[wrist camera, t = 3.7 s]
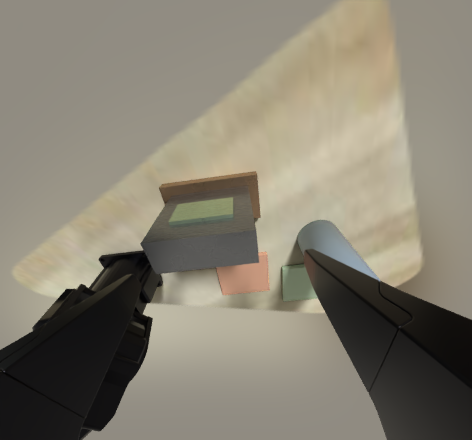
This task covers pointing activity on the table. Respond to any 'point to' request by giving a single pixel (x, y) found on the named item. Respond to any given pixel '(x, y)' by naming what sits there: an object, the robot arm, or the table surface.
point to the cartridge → (331, 245)
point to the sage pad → (296, 283)
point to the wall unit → (205, 224)
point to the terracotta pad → (245, 277)
